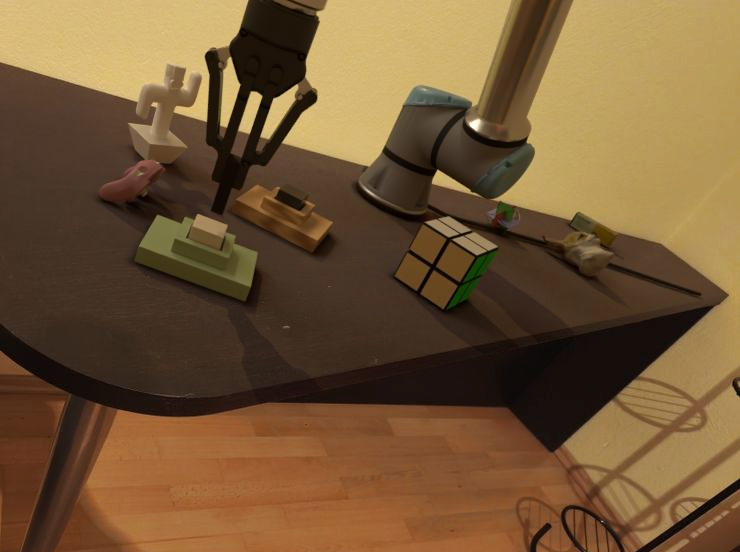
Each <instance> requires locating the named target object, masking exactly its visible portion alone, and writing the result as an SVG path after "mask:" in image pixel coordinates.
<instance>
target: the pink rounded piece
mask: <svg viewBox="0 0 740 552" xmlns="http://www.w3.org/2000/svg"><path fill="white" fill-rule="evenodd" d="M165 172H166V168H165V167H164V165H163V163H159V162H156V161H155V160H154V158H153V160H145V159H143V160H140V161H138V162H137V163H136V165H134V166H130V167H128V168H127V169H126V170H125V171H124V173H123V177H122V178H120V179H118V180H114V181H111V182H108V183H105V184H103V186H101V187H100V189H99V191H98V192H99V196H100V198H101V199H102V200H103V201H106V202H110V203H119V202H124V201H126V202H127V203H131V202H132V201H134V199H136V198H137V196H138V197H139V196H140V197H141V198H142V197H145V196H146V195H148V191H149V190H147V189H148V188H149V187H150V186H151V185H152V184H153V183H156V182H157V181H158V180H159V179H160V178H161V177H162V175H163V174H164V173H165Z"/></svg>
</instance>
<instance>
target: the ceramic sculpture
mask: <svg viewBox="0 0 740 552" xmlns="http://www.w3.org/2000/svg"><path fill="white" fill-rule="evenodd" d="M541 238H542V241H545V243H546V245H547V246H546V247H548V248H549V249H550V251H552V252H553V253H555V254H558V255H560V256H561V258H562V259H563V260H564V261H565V262H567V263H568V264H569V265H571V266H574V267H575V266H576V267H578V268H579V273H580V274H581V275H583V276H585V277H588V278H589V277H592V276H593V277H594V276H597V274H599V273H601V271H603V270H604V269H606V267H607V266H608V264H609V262H611V261H612V260H613V258H614V257H615V252H611V251H608V250H607V251H606V250H604V249H603V248H602V247H601V241H600V238H599V236H598V235H597V234H596V233H595V232H592V233H590V234H589V235H588V234H587V233H584V232H580V231H579V230H576V231H573V232H570V233H568V234H567V235H566V236H565V237H564V239H563V240H558V239H557V238H549V237H547V236H545V235H543V234H542V235H541Z"/></svg>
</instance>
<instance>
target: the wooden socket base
mask: <svg viewBox="0 0 740 552" xmlns="http://www.w3.org/2000/svg"><path fill="white" fill-rule="evenodd" d="M280 188H281V187H279V186H276V187H274V188H273V189H272V190H269V189H267V188H265V187H264V186H261V185H260V184H256V185H254V186H253V187H252V188H251V189H249V190H247V191H245V193H243V194H242V195H240V196H238V197H237V198H236V199H235V201H234V202H233V203H234V204H233V206H232V209H231V213H232V214H234V215H237V216H238V217H241V218H242V219H244V220H246V221H248V222H250V223H252V224H254V225H256V226H258V227H260V228H262V229H264V230H266V231H267V232H270V233H272V234H273V235H276V236H278V237H280V238H282V239H284V240H286V241H288V242H290V243H292V244H294V245H296V246H298V247H300V248H302V249H303V250H306V251H308V252H310V253H314V251H316V249H317V248H318V246H320V244H321V243H322V242H323V240H325V238H326V237H327V235H329V232H330V230H331V229H332V226H333V224H334V222H333V221H331V220H329V219H328V218H325V217H324V216H321V215H319V214H318V213H316V212H314V211H315V207H316V204H313V202H310V201H308V200H306V203H305V205H304V206H303V207H302V208H301V209H300V210H299V211H298V210H296V209H294V208H292V207H290V206H288V205H286V204H284V203H282V202H280V201H278V200H276V199H275V198H276V195H277V193H278V190H279V189H280Z"/></svg>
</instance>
